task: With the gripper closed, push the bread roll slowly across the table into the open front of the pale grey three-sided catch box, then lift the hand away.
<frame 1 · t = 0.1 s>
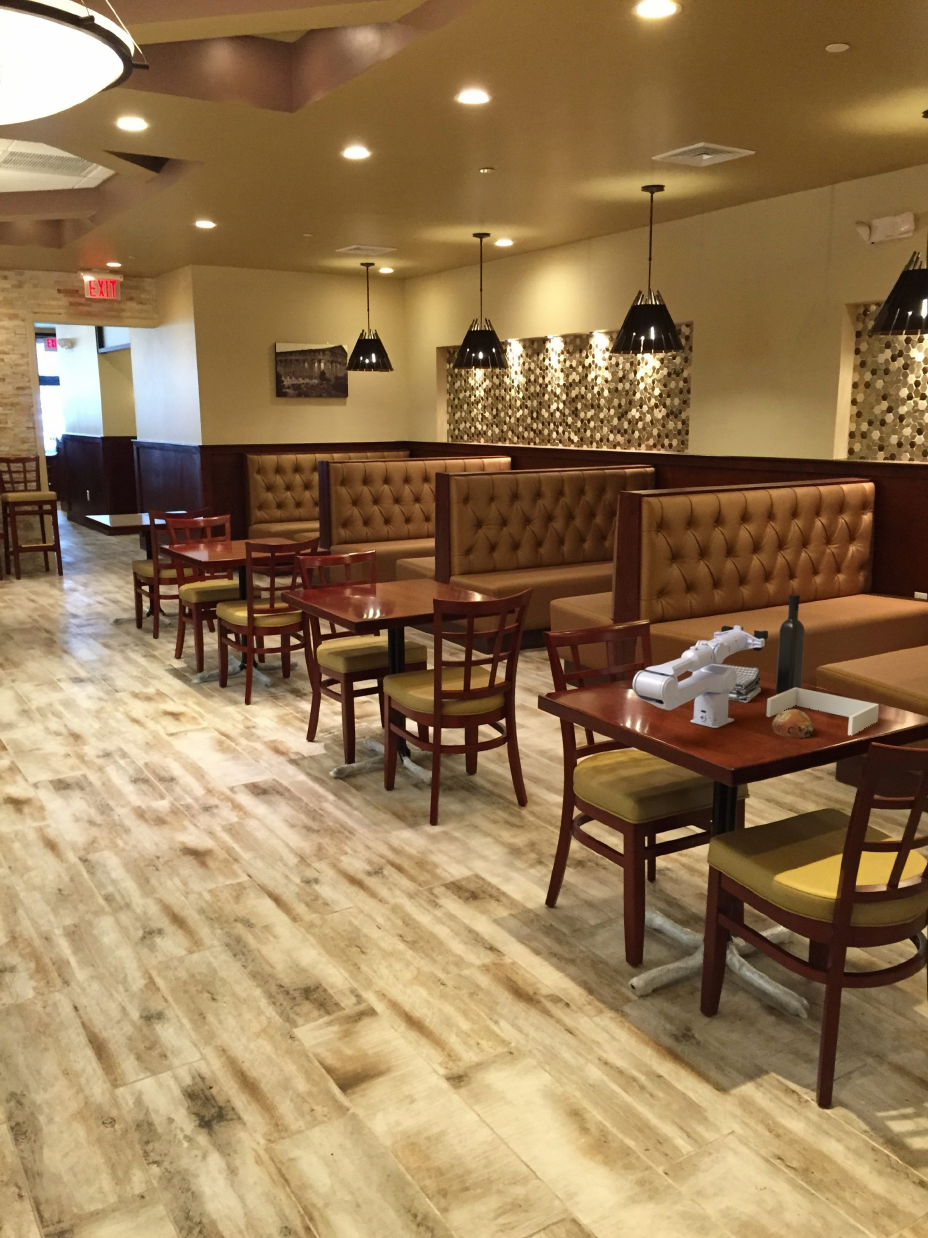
hand: (754, 632, 278), 22 cm above the table, tool horizontal, fingers open, 7 cm apart
catch box: (821, 719, 270), on the table
wine bottle: (788, 695, 294), on the table
bread roll: (793, 734, 259), on the table
towel: (725, 695, 295), on the table
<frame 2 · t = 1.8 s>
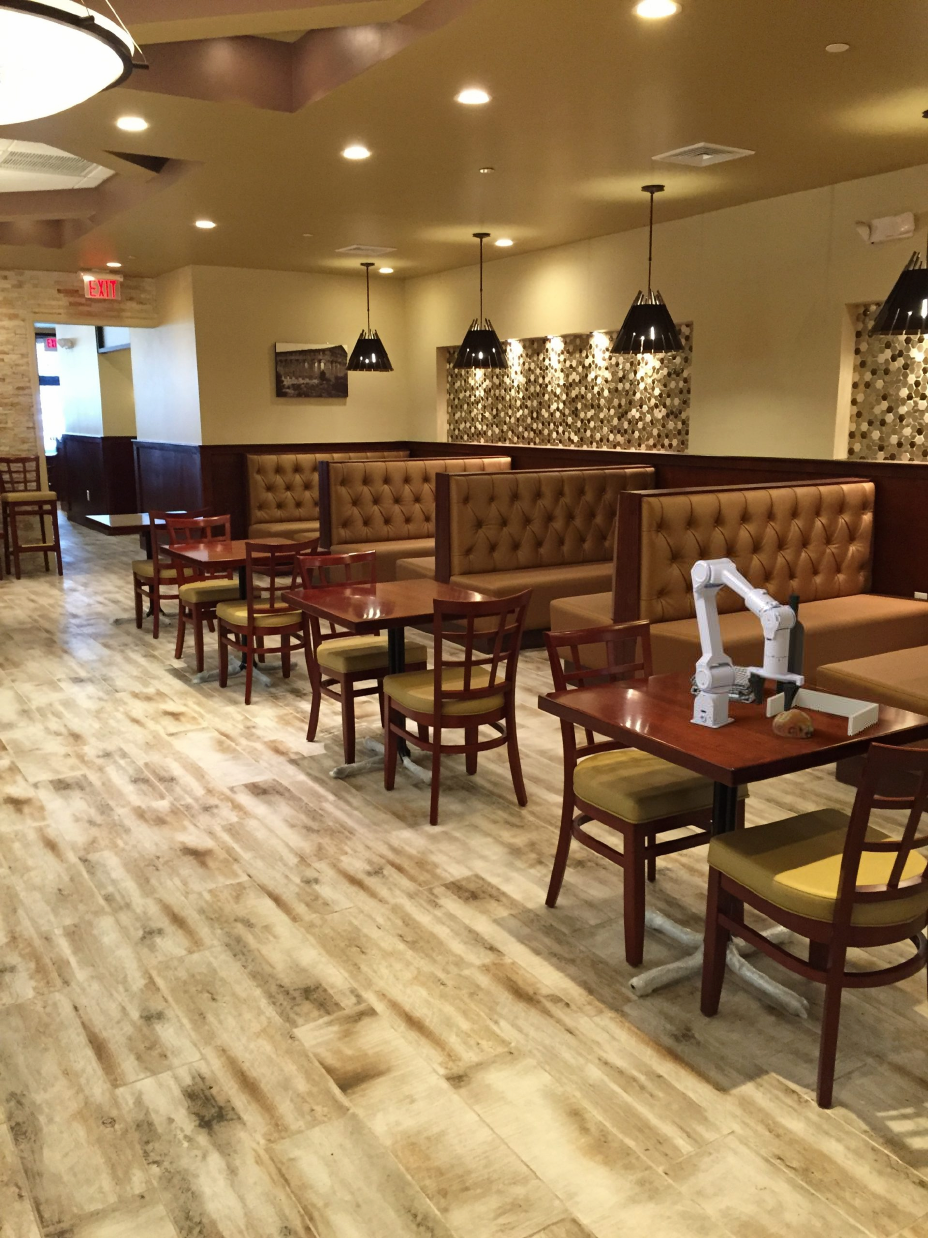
hand: (773, 707, 249), 9 cm above the table, tool pointing down, fingers open, 7 cm apart
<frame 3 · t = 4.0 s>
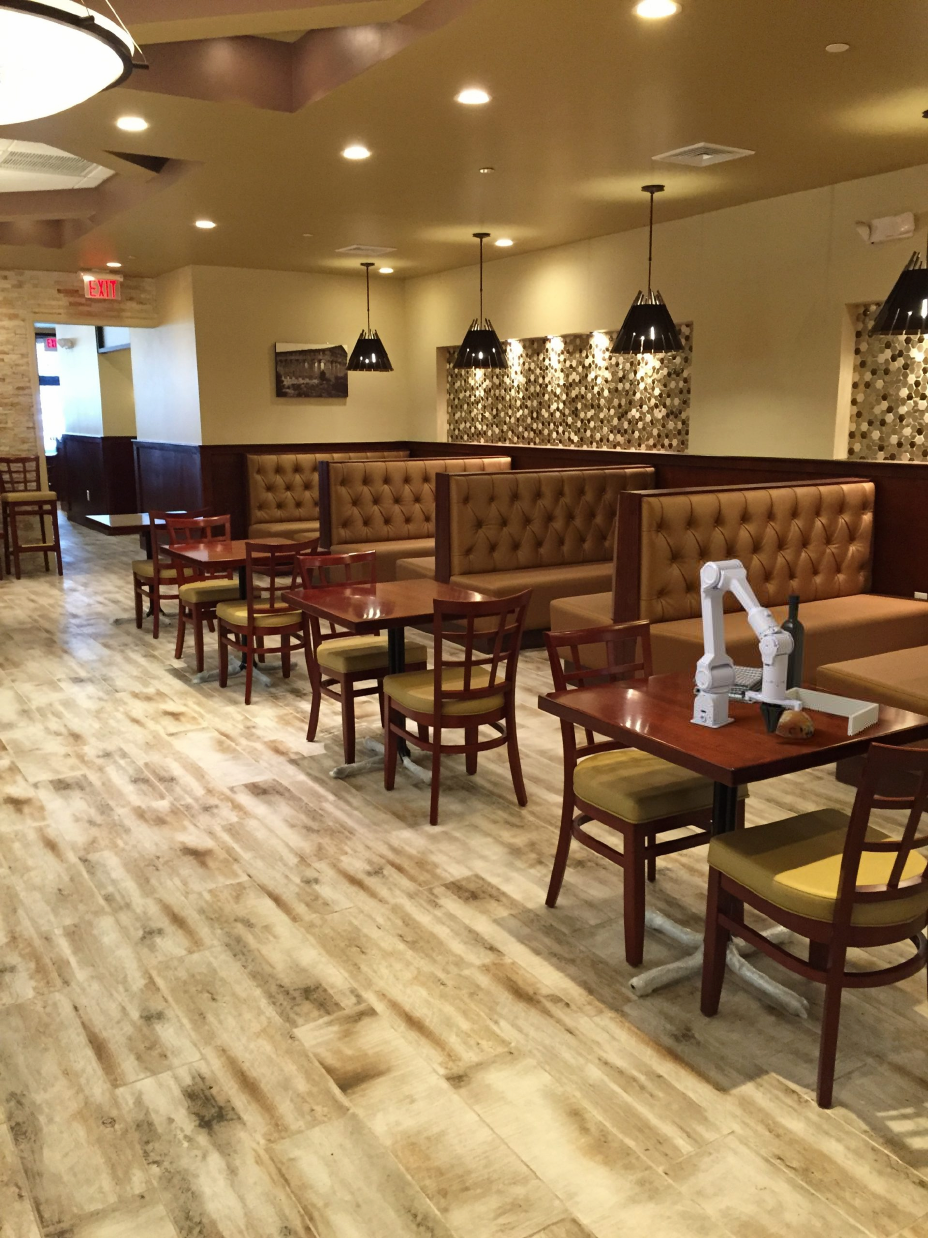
hand: (771, 732, 250), 3 cm above the table, tool pointing down, fingers closed
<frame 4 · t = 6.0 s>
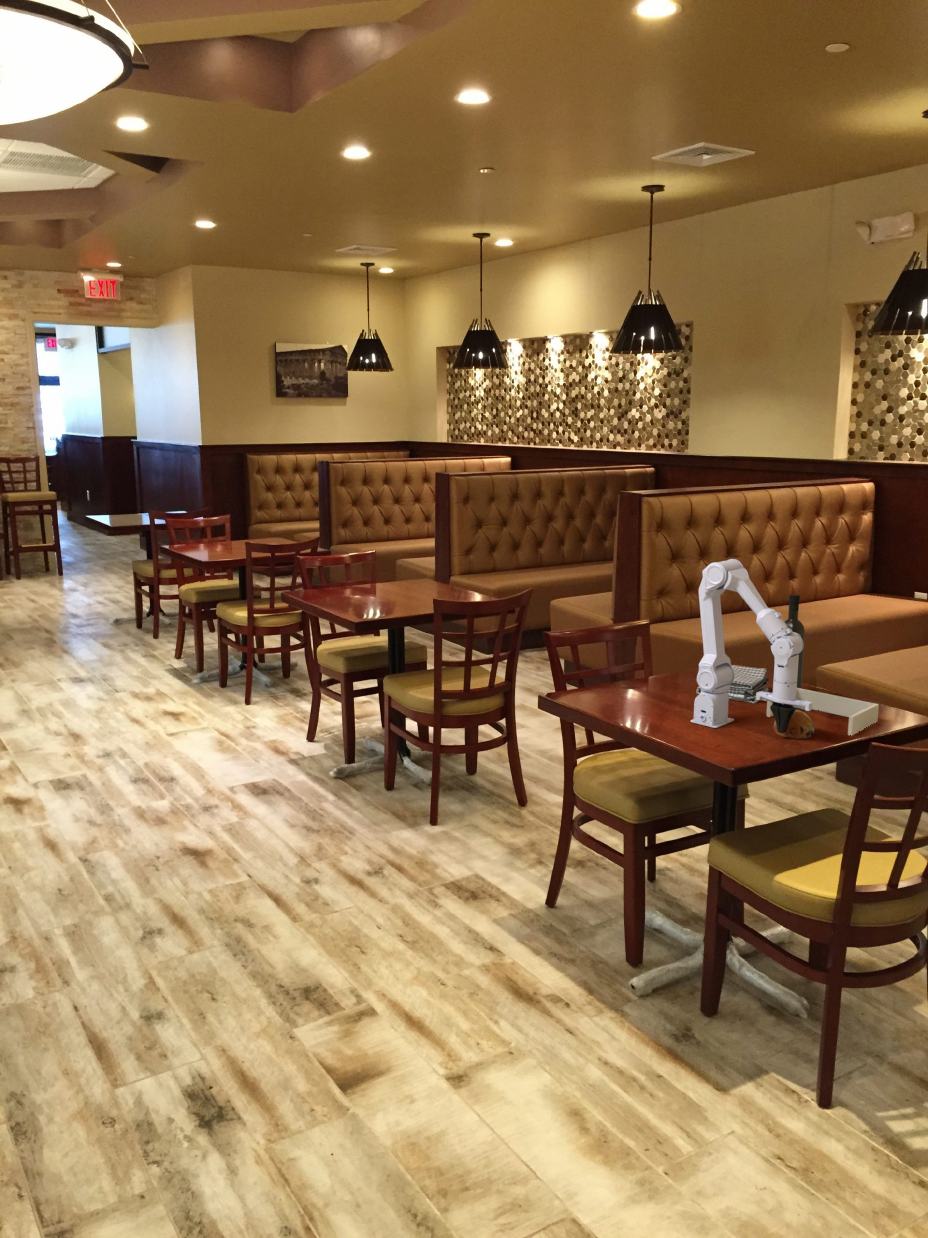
hand: (782, 731, 255), 2 cm above the table, tool pointing down, fingers closed
bread roll: (794, 734, 259), on the table, touching gripper
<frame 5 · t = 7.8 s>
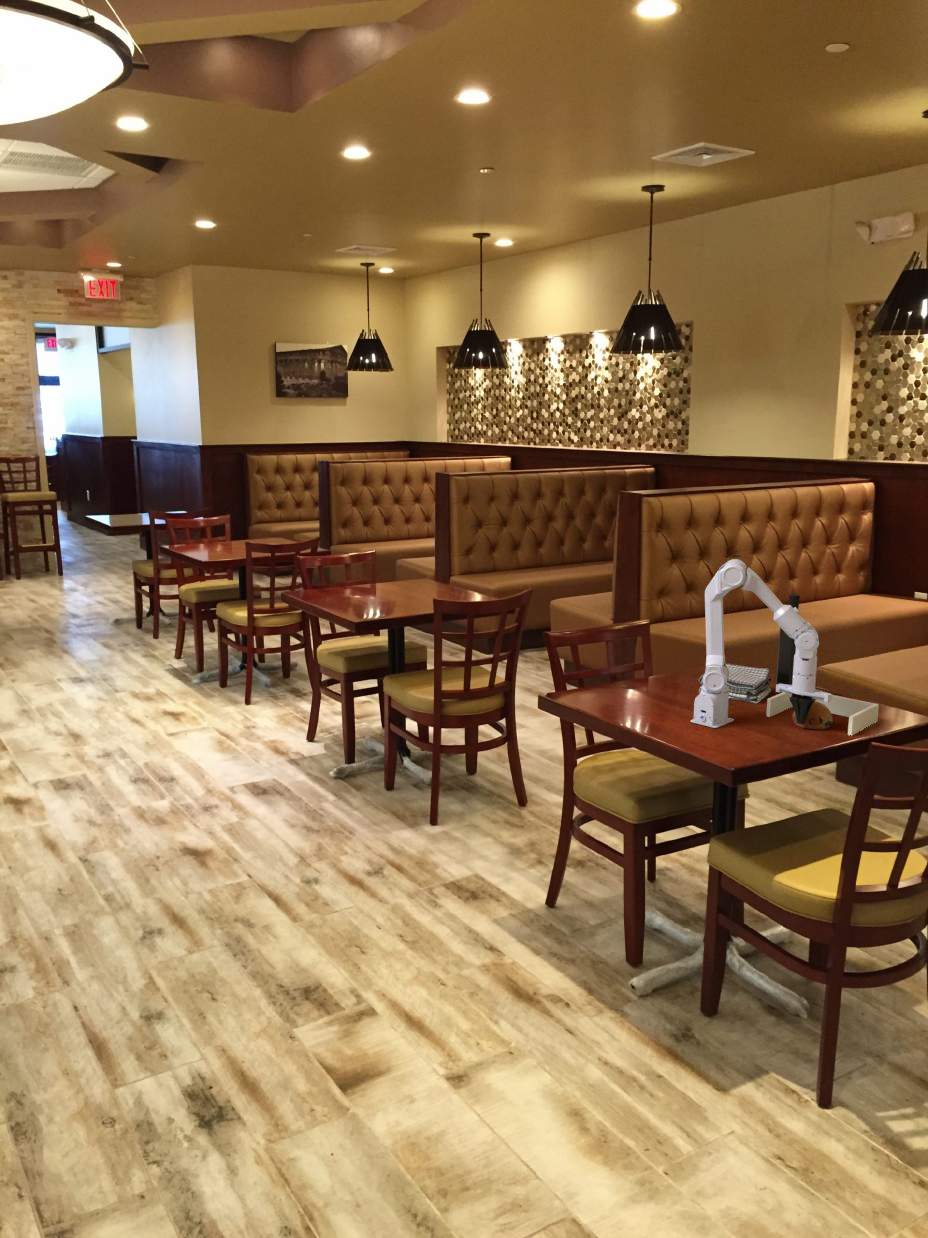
hand: (801, 722, 262), 2 cm above the table, tool pointing down, fingers closed
bread roll: (813, 725, 266), on the table, touching gripper
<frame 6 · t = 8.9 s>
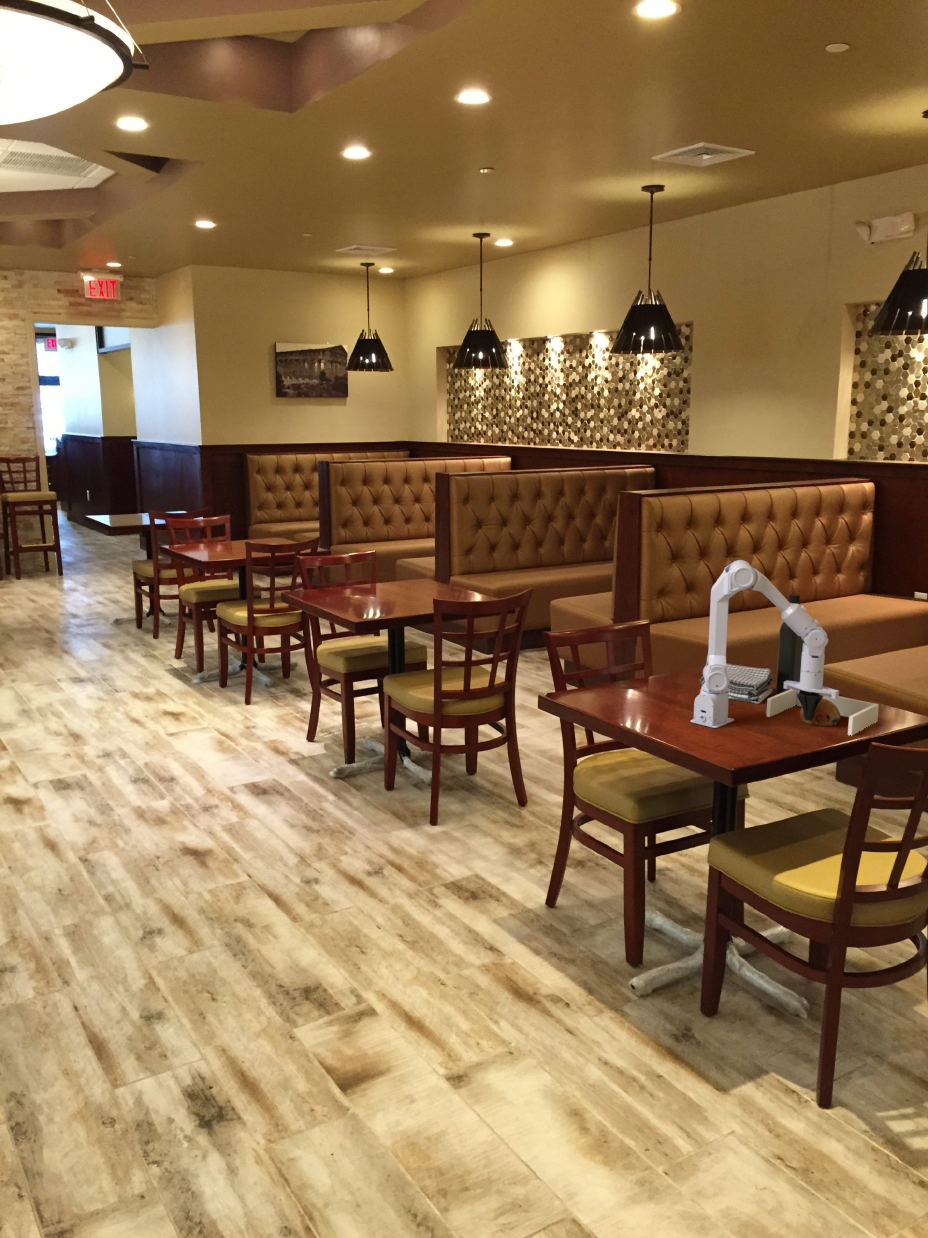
hand: (808, 719, 265), 2 cm above the table, tool pointing down, fingers closed
bread roll: (820, 722, 269), on the table, touching gripper
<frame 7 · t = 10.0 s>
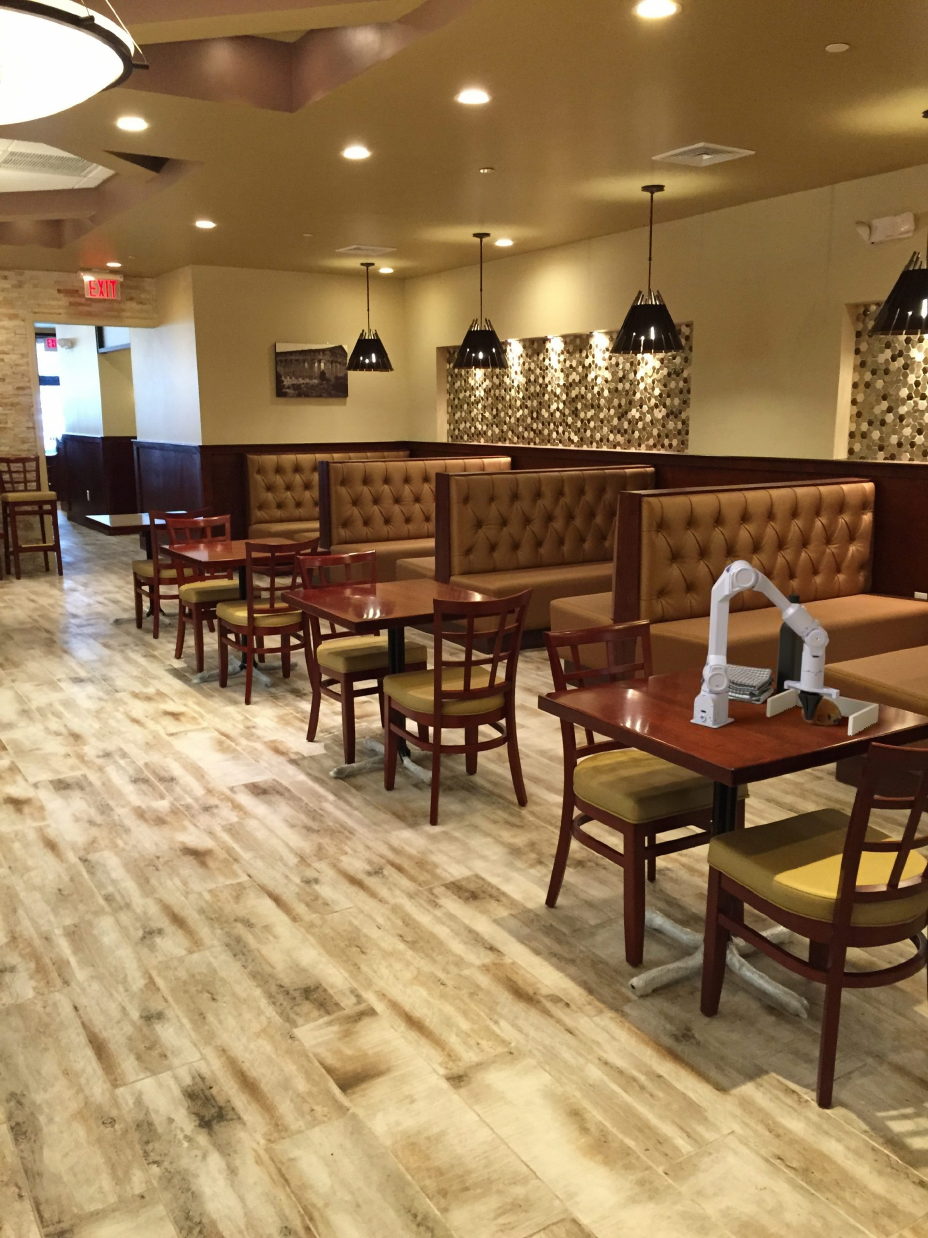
hand: (809, 719, 265), 2 cm above the table, tool pointing down, fingers closed
bread roll: (821, 721, 269), on the table
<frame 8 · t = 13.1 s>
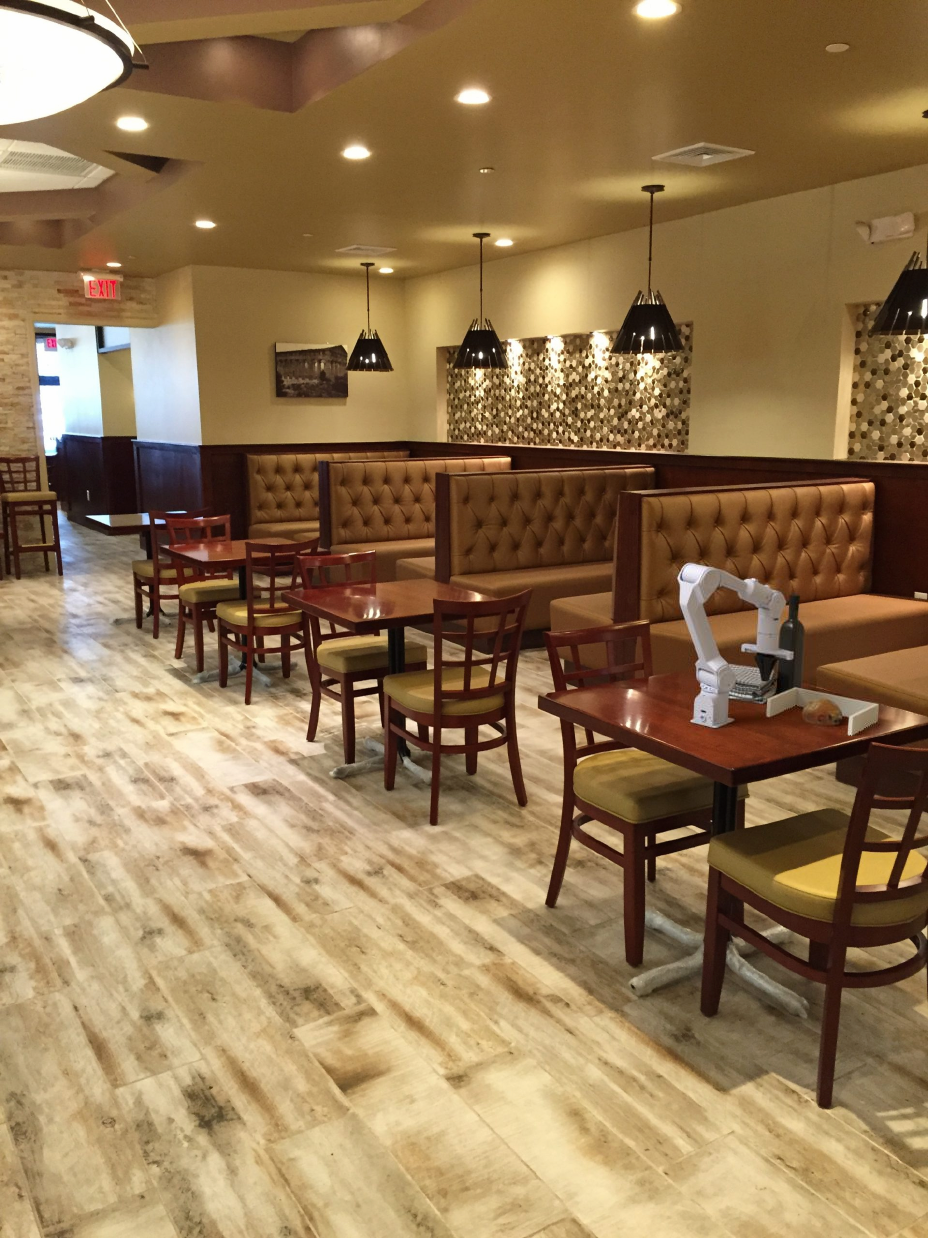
hand: (765, 680, 274), 9 cm above the table, tool pointing down, fingers closed
at the end: bread roll inside the target area on the catch box (2.7 cm from its centre), point 0.0 cm above the catch box's base; bread roll moved 15.0 cm from its start; the gripper is holding nothing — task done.
